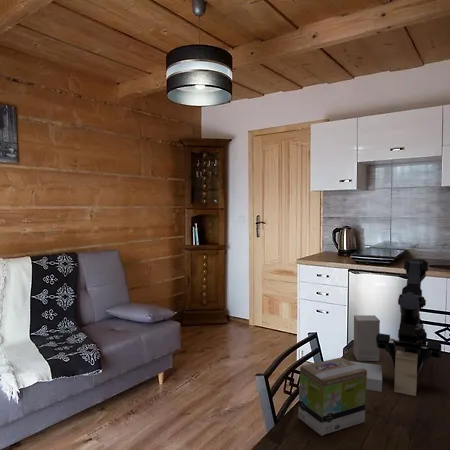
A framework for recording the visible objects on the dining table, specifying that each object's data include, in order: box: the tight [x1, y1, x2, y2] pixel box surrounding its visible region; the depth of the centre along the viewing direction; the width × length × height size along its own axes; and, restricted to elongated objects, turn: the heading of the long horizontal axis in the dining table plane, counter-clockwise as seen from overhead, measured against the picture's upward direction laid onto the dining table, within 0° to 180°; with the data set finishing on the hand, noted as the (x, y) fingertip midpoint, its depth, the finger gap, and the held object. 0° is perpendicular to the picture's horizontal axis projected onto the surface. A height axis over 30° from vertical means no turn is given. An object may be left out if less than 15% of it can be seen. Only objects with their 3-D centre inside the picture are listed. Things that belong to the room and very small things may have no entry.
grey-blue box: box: [349, 360, 383, 393], centre depth 131 cm, size 12×12×4 cm
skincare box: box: [353, 314, 381, 362], centre depth 149 cm, size 8×7×16 cm
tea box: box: [297, 356, 367, 437], centre depth 107 cm, size 15×10×15 cm
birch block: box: [393, 349, 418, 397], centre depth 124 cm, size 6×6×11 cm
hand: (406, 370), depth 123 cm, fingers closed on birch block, 6 cm apart
